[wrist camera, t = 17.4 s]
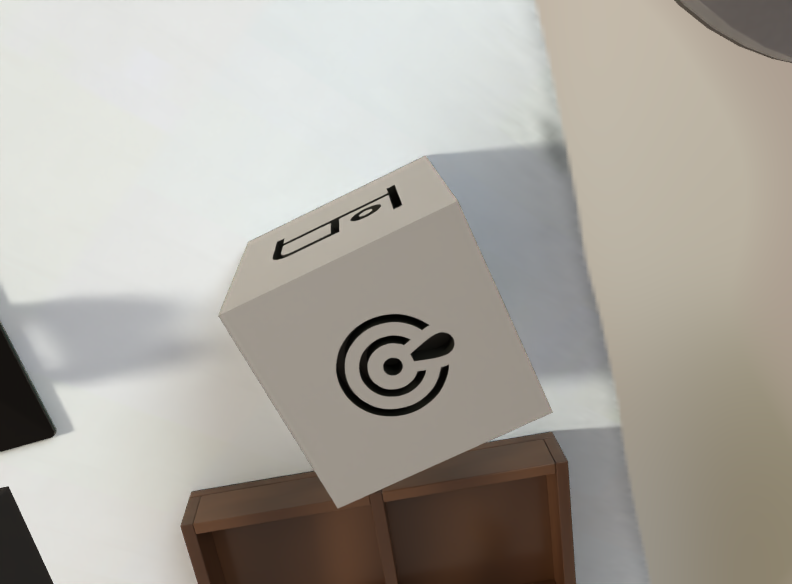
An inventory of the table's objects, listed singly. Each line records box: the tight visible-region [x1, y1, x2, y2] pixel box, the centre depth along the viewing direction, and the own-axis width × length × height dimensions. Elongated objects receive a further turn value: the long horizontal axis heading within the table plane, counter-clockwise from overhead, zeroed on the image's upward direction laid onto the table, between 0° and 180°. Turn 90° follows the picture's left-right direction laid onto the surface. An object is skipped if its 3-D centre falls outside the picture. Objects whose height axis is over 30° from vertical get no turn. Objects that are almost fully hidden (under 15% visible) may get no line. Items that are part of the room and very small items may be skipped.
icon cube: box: [218, 156, 552, 508], centre depth 33 cm, size 10×10×10 cm
